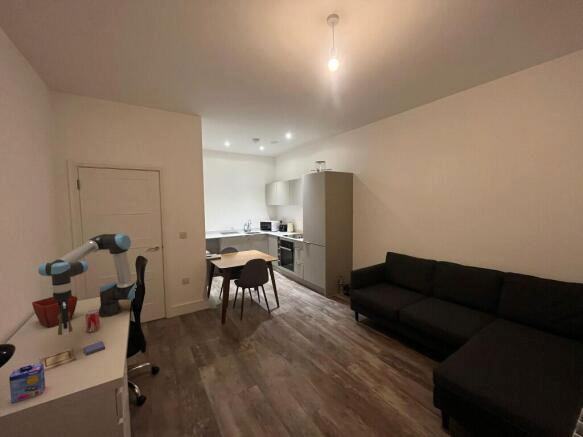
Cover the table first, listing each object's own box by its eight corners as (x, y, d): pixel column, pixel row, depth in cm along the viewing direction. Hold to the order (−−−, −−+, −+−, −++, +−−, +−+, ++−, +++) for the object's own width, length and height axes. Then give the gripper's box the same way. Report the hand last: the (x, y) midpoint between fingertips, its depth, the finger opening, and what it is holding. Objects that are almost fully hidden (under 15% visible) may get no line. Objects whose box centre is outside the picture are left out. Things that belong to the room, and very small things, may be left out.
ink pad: (102, 343, 151) (102, 340, 151) (105, 348, 145) (105, 346, 145) (83, 349, 144) (83, 346, 144) (85, 356, 138) (85, 353, 138)
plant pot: (66, 314, 191) (65, 293, 190) (79, 319, 183) (78, 297, 182) (32, 325, 174) (31, 302, 173) (45, 331, 166) (43, 307, 165)
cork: (63, 329, 139) (62, 310, 138) (75, 328, 139) (74, 310, 138) (54, 335, 133) (53, 315, 132) (66, 334, 133) (65, 315, 132)
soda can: (99, 326, 171) (98, 308, 170) (100, 330, 166) (99, 311, 165) (86, 330, 166) (84, 311, 166) (87, 334, 161) (85, 315, 160)
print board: (73, 349, 145) (73, 347, 145) (76, 359, 135) (76, 357, 135) (39, 360, 134) (39, 358, 134) (40, 372, 125) (40, 370, 125)
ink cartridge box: (10, 404, 105) (7, 372, 104) (15, 395, 110) (12, 365, 109) (42, 394, 111) (39, 363, 110) (45, 386, 115) (43, 357, 114)
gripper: (51, 288, 138) (53, 328, 139) (54, 297, 125) (57, 340, 127) (68, 285, 143) (71, 323, 145) (73, 293, 131) (76, 335, 132)
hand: (64, 331), depth 136 cm, fingers closed on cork, 6 cm apart
